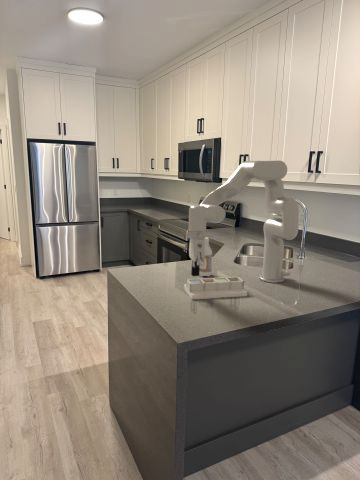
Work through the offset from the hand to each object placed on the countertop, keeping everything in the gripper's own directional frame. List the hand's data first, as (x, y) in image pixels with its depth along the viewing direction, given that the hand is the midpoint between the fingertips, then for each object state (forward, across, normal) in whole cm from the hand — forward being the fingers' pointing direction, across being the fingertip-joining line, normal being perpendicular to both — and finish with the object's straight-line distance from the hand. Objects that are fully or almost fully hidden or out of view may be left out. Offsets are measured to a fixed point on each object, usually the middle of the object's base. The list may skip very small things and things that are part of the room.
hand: (195, 275), depth 143 cm
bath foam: (+8, +26, -12) cm, 30 cm away
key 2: (+5, 0, -12) cm, 13 cm away
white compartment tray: (+8, 0, -9) cm, 12 cm away
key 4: (+5, 0, 0) cm, 5 cm away
